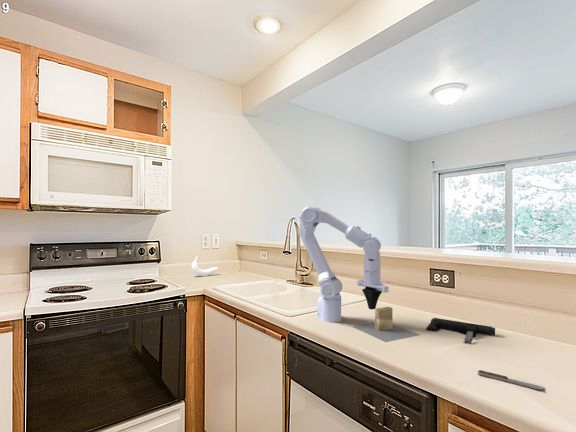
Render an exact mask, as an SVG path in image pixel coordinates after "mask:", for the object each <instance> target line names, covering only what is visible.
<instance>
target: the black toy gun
mask: <svg viewBox="0 0 576 432" xmlns="http://www.w3.org/2000/svg"><path fill="white" fill-rule="evenodd" d="M425 330H426V331H429V332H437V333H438V332H439V330H443V331H450V332H456V333H460V334H461V335H465V337H464V344H467V345H471V343H472V342H473V339H472V338H476V337H477V335H478V334H479V335H485V336H496V327H493V326H490V325H485V324H478V323H473V322H471V323H470V322H466V321H465V322H464V321H459V320H451V319H445V318H439V317H433V318H431V319H430V322H429V324H428V326H427V327H426V328H425Z"/></svg>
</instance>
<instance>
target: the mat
mask: <svg viewBox="0 0 576 432" xmlns="http://www.w3.org/2000/svg"><path fill="white" fill-rule="evenodd" d="M351 328H353V329H356V330H358V331H360V332H363V333H364V334H367V335H370V336H371V337H373V338H376V339H377V340H380V341H383V342H384V343H387V342H393V341H397V340H402V339H407V338H412V337H417V336H421V334H419V333H416V332H415V331H411V330H409V329H406V328H403V327H401V326H398V325H396V324H394V323H392V329H386V330H381V331H378V330H376V329H375V321H374V322H368V323H365V324H364V323H363V324H358V325H357V324H356V325H352V326H351Z"/></svg>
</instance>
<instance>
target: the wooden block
mask: <svg viewBox="0 0 576 432" xmlns="http://www.w3.org/2000/svg"><path fill="white" fill-rule="evenodd" d="M374 322H375V329H376V330H378V331H381V330H386V329H392V324H393V307H390V306H385V307H376V308H375V309H374Z"/></svg>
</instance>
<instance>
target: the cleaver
mask: <svg viewBox="0 0 576 432" xmlns="http://www.w3.org/2000/svg"><path fill="white" fill-rule="evenodd" d="M477 375H478V376H480V377H482V378H483V377H484V378H487V379H491V380H495V381H499V382H502V383H503V382H504V383H511V384H515V385H518V386H519V385H520V386H523V387H527V388H531V389H534V390H537V391H538V390H540V391H542V390H544V389H546V387H543V386H540V385H537V384H534V383H530V382H525V381H521V380H518V379H517V380H516V379H514V378H508V376H507V375H502V374H498V373H494V372H489V371H486V370H483V369H482V370H481V369H479V370H478V371H477Z"/></svg>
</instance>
